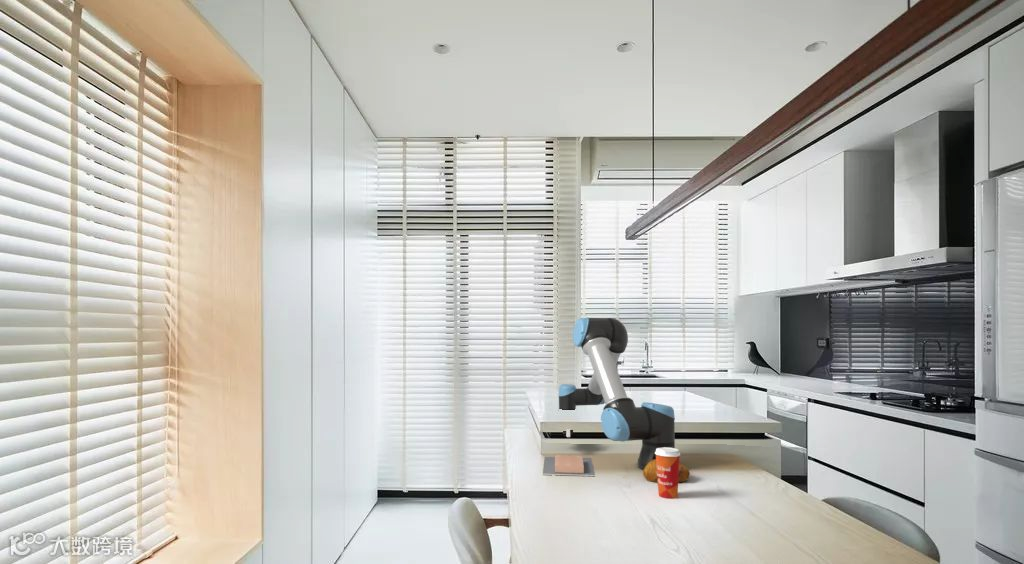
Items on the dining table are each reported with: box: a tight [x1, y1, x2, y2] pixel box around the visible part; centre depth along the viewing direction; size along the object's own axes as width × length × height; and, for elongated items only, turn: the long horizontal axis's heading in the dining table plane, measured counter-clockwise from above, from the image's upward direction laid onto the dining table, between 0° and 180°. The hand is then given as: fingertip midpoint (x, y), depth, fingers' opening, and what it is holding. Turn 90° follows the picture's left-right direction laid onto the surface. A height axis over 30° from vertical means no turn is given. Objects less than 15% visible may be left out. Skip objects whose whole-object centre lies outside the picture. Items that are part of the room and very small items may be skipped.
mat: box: [542, 456, 596, 478], centre depth 217 cm, size 26×18×1 cm
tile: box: [554, 454, 584, 473], centre depth 213 cm, size 3×10×16 cm
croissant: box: [642, 459, 691, 483], centre depth 202 cm, size 14×16×8 cm
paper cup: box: [655, 447, 681, 500], centre depth 182 cm, size 8×8×14 cm
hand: (568, 433), depth 230 cm, fingers closed
